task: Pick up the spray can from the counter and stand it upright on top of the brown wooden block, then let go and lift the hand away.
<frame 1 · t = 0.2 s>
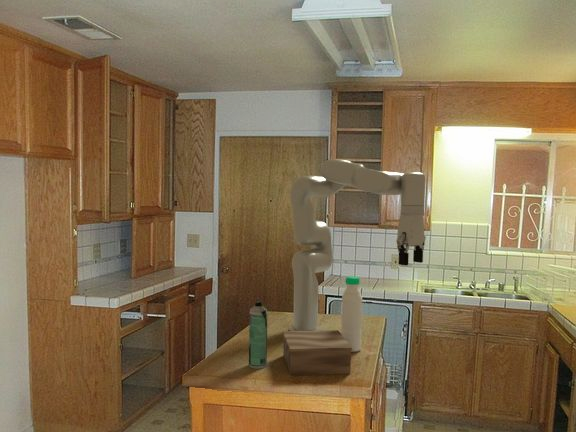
hand: (410, 263, 164), 31 cm above the worktop, tool pointing down, fingers open, 9 cm apart
water bottle: (350, 349, 174), on the worktop
spray can: (257, 366, 156), on the worktop
brown wooden block: (315, 364, 158), on the worktop
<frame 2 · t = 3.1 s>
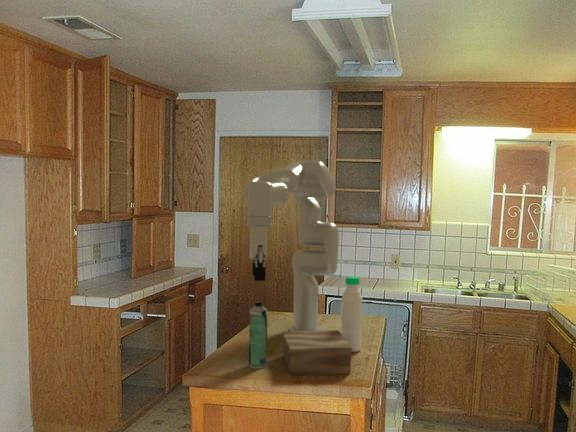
hand: (258, 277, 154), 27 cm above the worktop, tool pointing down, fingers open, 9 cm apart
nothing on the worktop moved.
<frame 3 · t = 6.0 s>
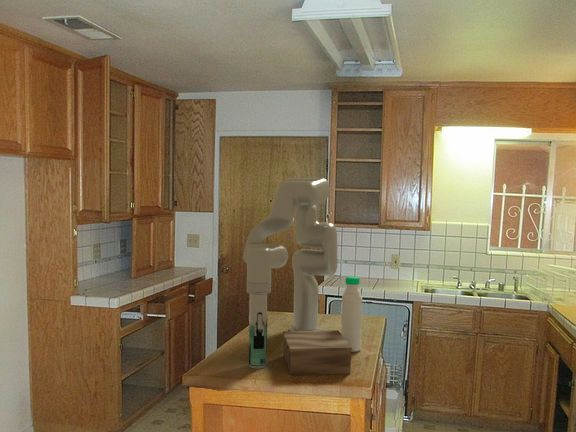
hand: (258, 344, 155), 7 cm above the worktop, tool pointing down, fingers closed on spray can, 5 cm apart
spray can: (257, 366, 156), on the worktop, touching gripper
everything else where it was.
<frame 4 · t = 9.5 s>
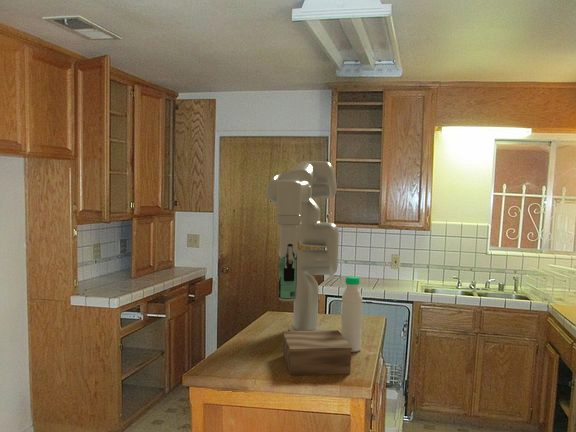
hand: (288, 278, 156), 27 cm above the worktop, tool pointing down, fingers closed on spray can, 5 cm apart
spray can: (287, 300, 156), point 20 cm above the worktop, touching gripper
everything else where it was.
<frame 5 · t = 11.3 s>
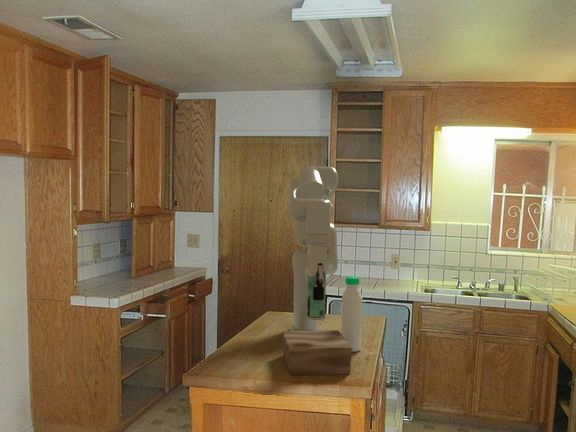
hand: (316, 297, 157), 21 cm above the worktop, tool pointing down, fingers closed on spray can, 5 cm apart
spray can: (316, 318, 157), point 14 cm above the worktop, touching gripper
everything else where it was.
when the fingers open (16 cm above the worktop, at t = 13.1 s): spray can drops 1 cm, resting on brown wooden block.
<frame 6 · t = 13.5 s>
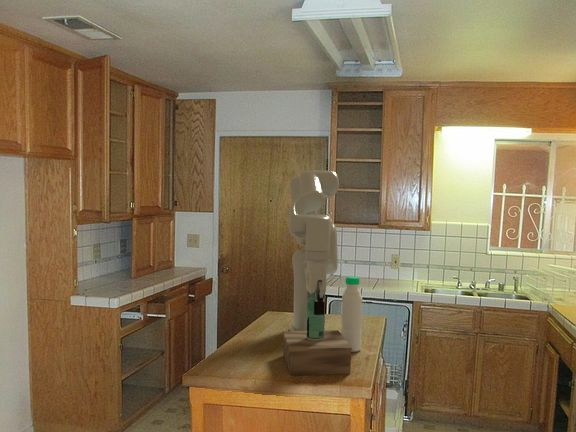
hand: (316, 310, 157), 17 cm above the worktop, tool pointing down, fingers open, 9 cm apart
spray can: (315, 339, 158), point 8 cm above the worktop, touching brown wooden block
everything else where it was.
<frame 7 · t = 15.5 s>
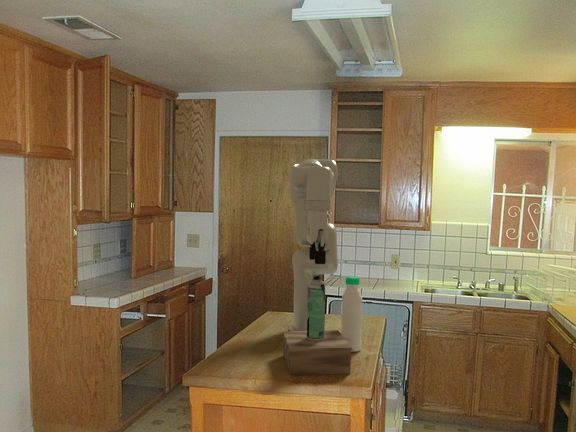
hand: (317, 261, 157), 32 cm above the worktop, tool pointing down, fingers open, 9 cm apart
nothing on the worktop moved.
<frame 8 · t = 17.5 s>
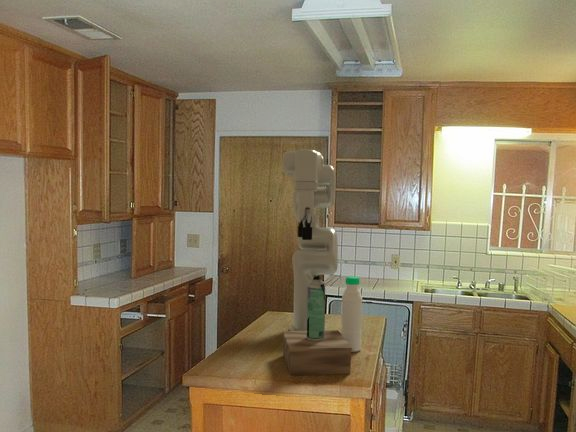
hand: (304, 238, 169), 38 cm above the worktop, tool pointing down, fingers open, 9 cm apart
nothing on the worktop moved.
at the end: spray can inside the target area on the brown wooden block (0.3 cm from its centre), point 7.8 cm above the brown wooden block's base; spray can tilted 0°; spray can touching brown wooden block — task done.
